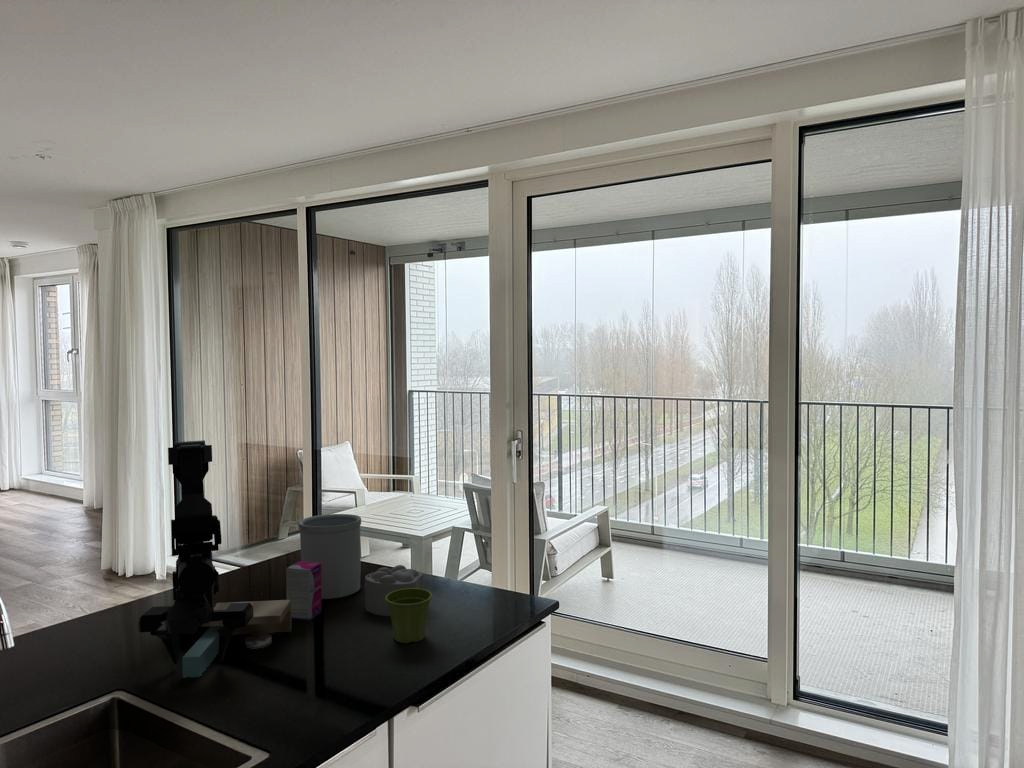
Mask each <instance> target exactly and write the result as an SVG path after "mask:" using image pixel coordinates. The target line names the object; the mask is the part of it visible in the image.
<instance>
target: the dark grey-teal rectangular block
mask: <svg viewBox="0 0 1024 768" xmlns="http://www.w3.org/2000/svg"><path fill="white" fill-rule="evenodd" d="M220 627H221V626H209V628H207V630H206V631H205V632H204V633H203V634H202V635H201V637H199V638H198V640H197V641H196V642H194V644H193V645H192V646H191V647H190V648H189V650H188V651H187V652H186V653H185V654H184V655H183V656H182V657H181V658H182V679H185V678H186V679H187V677H190V678H201V677H202V675H203V674H204V673H205V672H204V671H207V669H208V668H209V667H210V665H211V664H212V663H213V662H214V660H215V659H216V658H217V657H216V655H217V654H218V651H219V634H218V629H219V628H220ZM217 656H218V655H217ZM215 657H216V658H215ZM214 658H215V659H214ZM213 659H214V660H213ZM212 661H213V662H212ZM211 662H212V663H211ZM210 663H211V664H210ZM209 664H210V665H209ZM208 666H209V667H208ZM207 667H208V668H207ZM206 668H207V669H206ZM203 672H204V673H203ZM202 673H203V674H202ZM200 676H201V677H200Z"/></svg>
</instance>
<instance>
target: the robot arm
mask: <svg viewBox="0 0 1024 768" xmlns="http://www.w3.org/2000/svg"><path fill="white" fill-rule="evenodd" d="M173 444H174V446H172V447H167V456H168V457H167V462H168V466H172V475H174V477H175V478H176V479H177V481H178V482H179V484H181V485H180V488H181V489H180V491H181V493H180V494H181V500H180V501H179V502H178V503H177V504H176V505H175V507H174V515H175V516H174V519H170V530H171V533H170V534H171V539H170V540H171V557H175V556H177V559H176V561H175V571H172V573H171V574H172V597H173V598H172V600H173V601H174V604H172V605H166V606H165V605H164V606H162V605H161V606H152V607H150V608H149V609H148V610H147V611H146V612H144V613H143V614H141V616H140V617H139V619H138V622H137V623H138V624H137V625H138V626H137V627H138V629H137V630H138V632H139V633H149V634H150V636H152V637H153V636H154V637H157V638H158V639H160V640H161V641H162V643H163V644H164V645H165V649H167V653H168V654H169V656H170V658H171V660H172V663H173V665H174V666H175V665H176V666H177V665H178V664H179V661H180V634H187V635H192V634H195V633H196V632H197V631H198V629H199V628H203V627H202V624H208V623H209V621H222V626H221V627H220V628H219V629H218V634H219V651H218V655H217V656H218V663H223V661H224V658H225V655H226V652H227V650H228V647H229V643H230V641H231V639H230V638H232V636H233V635H232V633H233V632H234V631H235V630H236V629H237V628H242V627H245V626H246V625H247V624H248V622H249V621H250V620H251V619H252V617H253V606H252V605H251V604H250V603H231V604H230V605H229V606H228V608H227V609H226V610H214V607H215V606H216V603H217V601H216V600H215V597H214V595H217V594H216V593H218V592H220V588H219V587H220V585H219V584H220V583H219V582H220V581H219V580H220V578H219V577H220V574H219V573H220V572H219V571H217V569H216V565H214V563H213V552H217V551H219V549H220V548H219V545H222V530H221V528H222V527H221V520H220V519H219V518H218V516H217V515H216V514H214V515H213V507H212V506H213V505H212V503H211V502H210V501H209V500H208V499H207V498H206V497H205V489H204V488H205V486H204V479H205V477H206V476H207V474H208V473H209V469H210V468H209V466H210V465H209V464H210V463H211V462H213V446H212V444H206V440H189V441H186V440H185V441H174V443H173ZM212 540H214V543H213V541H212ZM176 544H177V546H176ZM176 547H177V548H176Z"/></svg>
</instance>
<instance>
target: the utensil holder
mask: <svg viewBox="0 0 1024 768" xmlns="http://www.w3.org/2000/svg"><path fill="white" fill-rule="evenodd" d="M361 525H362V517H361V516H359V515H356V514H349V513H339V514H338V513H331V514H330V513H329V514H320V515H318V514H317V515H313V516H308V517H305V518H303V519H300V521H299V522H298V530H299V538H300V561H302V562H317V563H321V596H322V598H321V599H322V600H330V599H340V598H344V597H348V596H350V595H353V594H355V593H357V592H358V591H360V588H361V567H362V566H361Z"/></svg>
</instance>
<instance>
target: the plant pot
mask: <svg viewBox="0 0 1024 768" xmlns="http://www.w3.org/2000/svg"><path fill="white" fill-rule="evenodd" d="M432 598H433V593H432V592H431V591H430V590H428V589H426V588H424V589H420V588H405V589H399V590H395V591H392V592H390V593H389V594H387V595H386V597H385V599H386V601H387V602H388V607H389V608H390V614H391V616H390V619H391V625H392V631H393V638H394V641H396V642H398V643H402V644H409V643H412V642H413V643H417V642H420V641H422V640H424V638H425V636H426V629H427V628H426V627H427V618H428V610H429V606H430V603H431V599H432Z"/></svg>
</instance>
